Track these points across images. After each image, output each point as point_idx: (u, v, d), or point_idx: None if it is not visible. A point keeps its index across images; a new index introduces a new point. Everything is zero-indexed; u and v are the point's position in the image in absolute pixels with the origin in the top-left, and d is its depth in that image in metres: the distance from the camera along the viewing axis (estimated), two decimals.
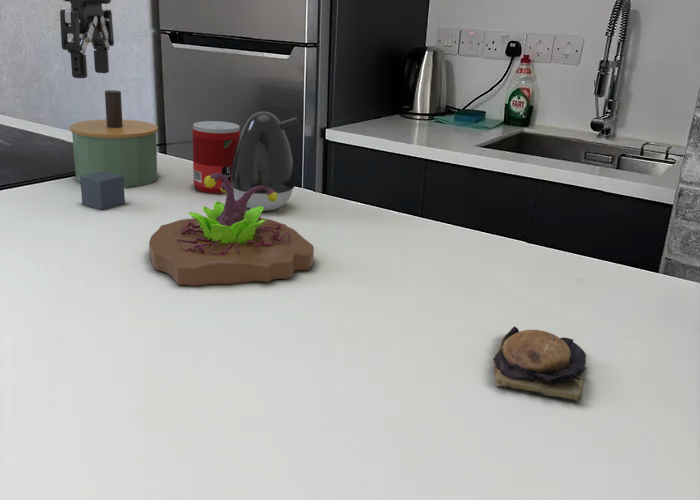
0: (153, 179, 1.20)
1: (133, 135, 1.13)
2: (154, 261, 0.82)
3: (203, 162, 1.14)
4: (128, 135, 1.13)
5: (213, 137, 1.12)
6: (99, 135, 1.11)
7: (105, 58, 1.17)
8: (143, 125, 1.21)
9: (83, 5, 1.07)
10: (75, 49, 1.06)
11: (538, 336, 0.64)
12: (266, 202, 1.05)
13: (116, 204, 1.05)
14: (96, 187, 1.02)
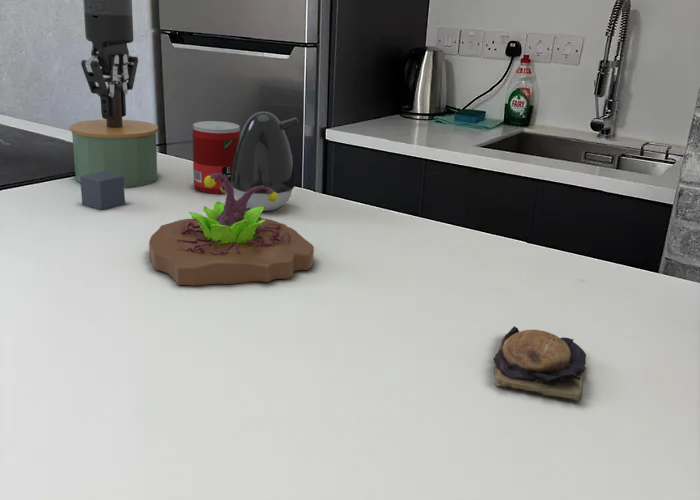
0: (153, 179, 1.20)
1: (133, 135, 1.13)
2: (154, 261, 0.82)
3: (203, 162, 1.14)
4: (128, 135, 1.13)
5: (213, 137, 1.12)
6: (99, 135, 1.11)
7: (122, 102, 1.18)
8: (143, 125, 1.20)
9: (103, 45, 1.10)
10: (103, 94, 1.12)
11: (538, 336, 0.64)
12: (266, 202, 1.05)
13: (116, 204, 1.05)
14: (96, 187, 1.02)
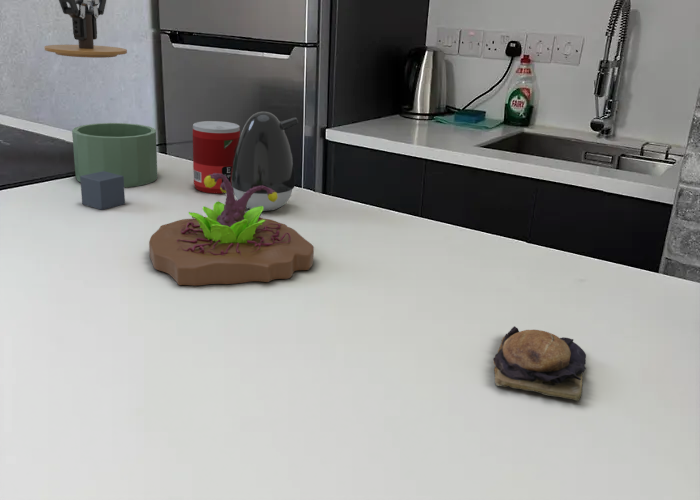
0: (153, 179, 1.20)
1: (102, 53, 1.22)
2: (154, 261, 0.82)
3: (203, 162, 1.14)
4: (97, 53, 1.22)
5: (213, 137, 1.12)
6: (70, 52, 1.21)
7: (93, 25, 1.27)
8: (113, 48, 1.30)
9: None
10: (74, 14, 1.21)
11: (538, 336, 0.64)
12: (266, 202, 1.05)
13: (116, 204, 1.05)
14: (96, 187, 1.02)
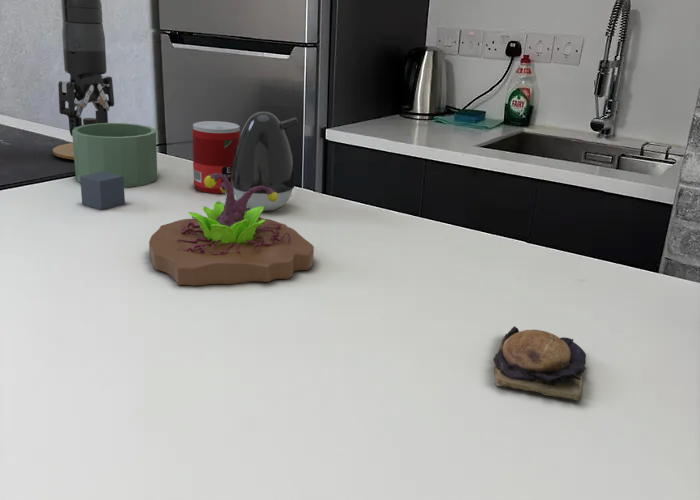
0: (153, 179, 1.20)
1: None
2: (154, 261, 0.82)
3: (203, 162, 1.14)
4: None
5: (213, 137, 1.12)
6: None
7: (104, 117, 1.37)
8: None
9: (80, 77, 1.27)
10: (70, 114, 1.26)
11: (538, 336, 0.64)
12: (266, 202, 1.05)
13: (116, 204, 1.05)
14: (96, 187, 1.02)
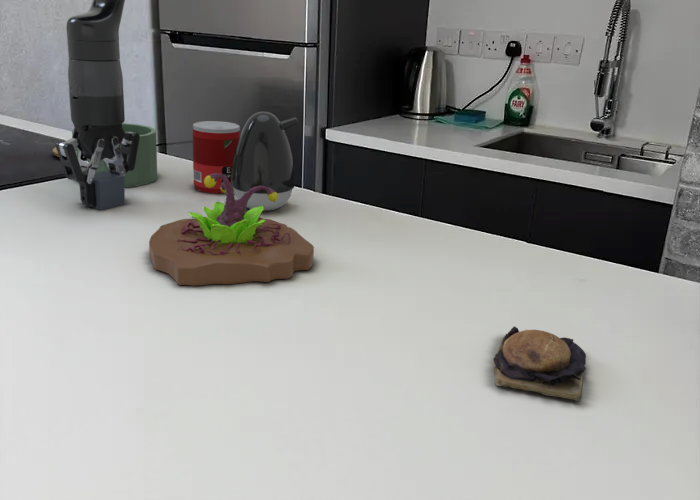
0: (153, 179, 1.20)
1: None
2: (154, 261, 0.82)
3: (203, 162, 1.14)
4: None
5: (213, 137, 1.12)
6: None
7: None
8: None
9: (84, 129, 0.99)
10: None
11: (538, 336, 0.64)
12: (266, 202, 1.05)
13: (116, 204, 1.05)
14: (96, 187, 1.02)
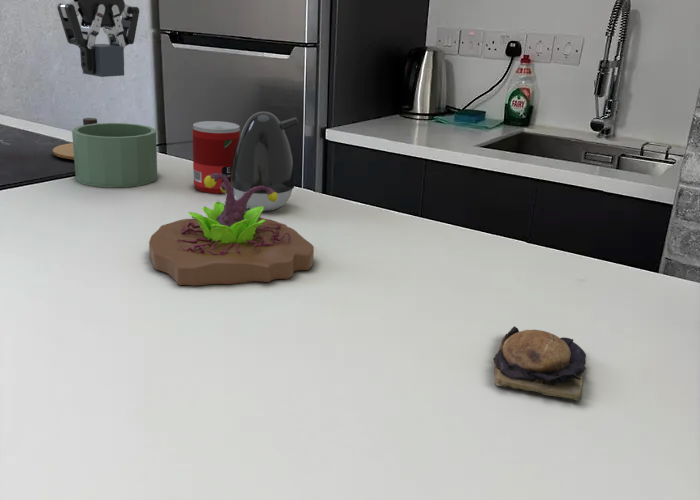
0: (153, 179, 1.20)
1: None
2: (154, 261, 0.82)
3: (203, 162, 1.14)
4: None
5: (213, 137, 1.12)
6: None
7: None
8: None
9: None
10: (78, 44, 1.03)
11: (538, 336, 0.64)
12: (266, 202, 1.05)
13: (116, 74, 1.08)
14: (96, 54, 1.05)
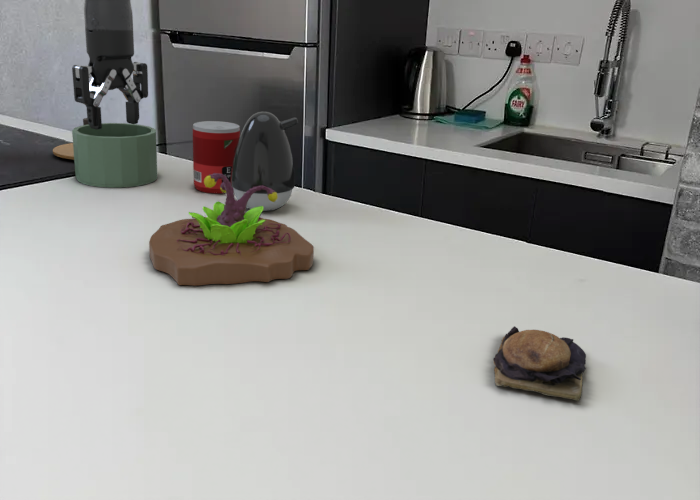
0: (153, 179, 1.20)
1: None
2: (154, 261, 0.82)
3: (203, 162, 1.14)
4: None
5: (213, 137, 1.12)
6: None
7: (133, 110, 1.20)
8: None
9: (98, 59, 1.11)
10: (84, 102, 1.11)
11: (538, 336, 0.64)
12: (266, 202, 1.05)
13: None
14: None
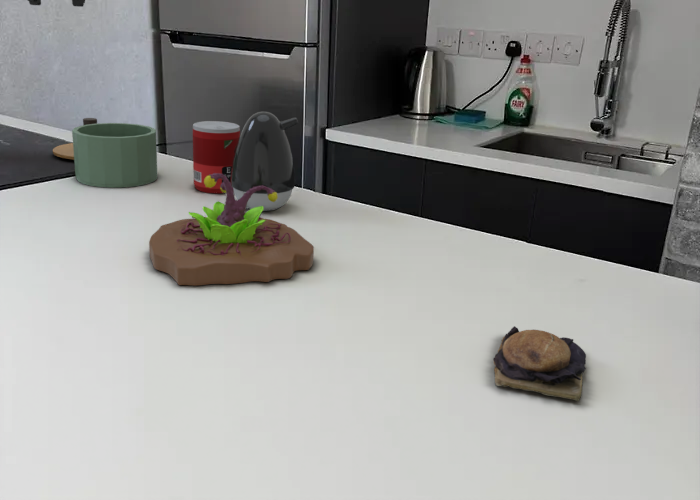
0: (153, 179, 1.20)
1: None
2: (154, 261, 0.82)
3: (203, 162, 1.14)
4: None
5: (213, 137, 1.12)
6: None
7: None
8: None
9: None
10: None
11: (538, 336, 0.64)
12: (266, 202, 1.05)
13: None
14: None
